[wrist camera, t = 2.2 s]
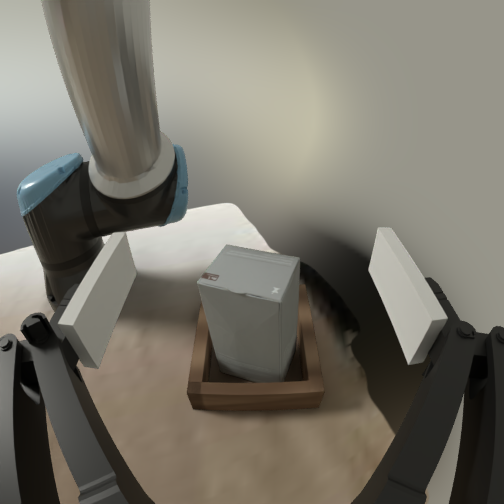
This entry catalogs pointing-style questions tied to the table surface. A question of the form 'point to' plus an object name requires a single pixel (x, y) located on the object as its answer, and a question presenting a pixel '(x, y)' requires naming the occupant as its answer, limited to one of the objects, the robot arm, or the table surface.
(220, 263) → the skincare box
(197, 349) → the walnut u-shaped frame
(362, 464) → the table surface
